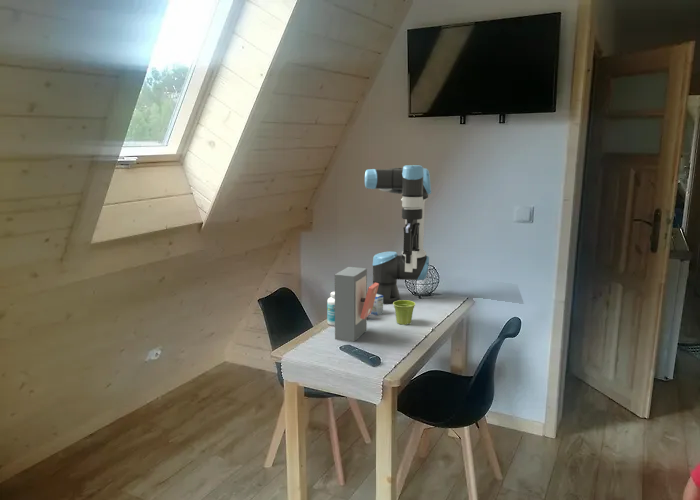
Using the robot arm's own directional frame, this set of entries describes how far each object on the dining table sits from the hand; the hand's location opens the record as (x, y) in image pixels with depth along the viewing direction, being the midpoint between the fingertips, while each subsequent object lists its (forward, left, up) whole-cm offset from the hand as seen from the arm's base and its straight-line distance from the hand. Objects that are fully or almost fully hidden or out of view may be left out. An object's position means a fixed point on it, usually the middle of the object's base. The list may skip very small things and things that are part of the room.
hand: (410, 269), depth 204 cm
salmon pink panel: (-3, -18, -20) cm, 27 cm away
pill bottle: (-16, -33, -29) cm, 47 cm away
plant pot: (-23, -5, -29) cm, 37 cm away
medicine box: (-34, -20, -29) cm, 49 cm away
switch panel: (-4, -22, -29) cm, 37 cm away
